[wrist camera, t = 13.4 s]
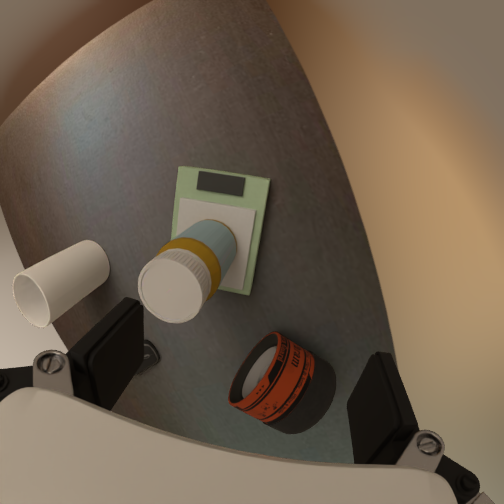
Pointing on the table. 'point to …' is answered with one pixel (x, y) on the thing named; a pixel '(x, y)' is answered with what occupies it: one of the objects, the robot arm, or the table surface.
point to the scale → (224, 214)
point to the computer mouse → (148, 356)
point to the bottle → (187, 271)
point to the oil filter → (283, 385)
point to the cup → (60, 282)
